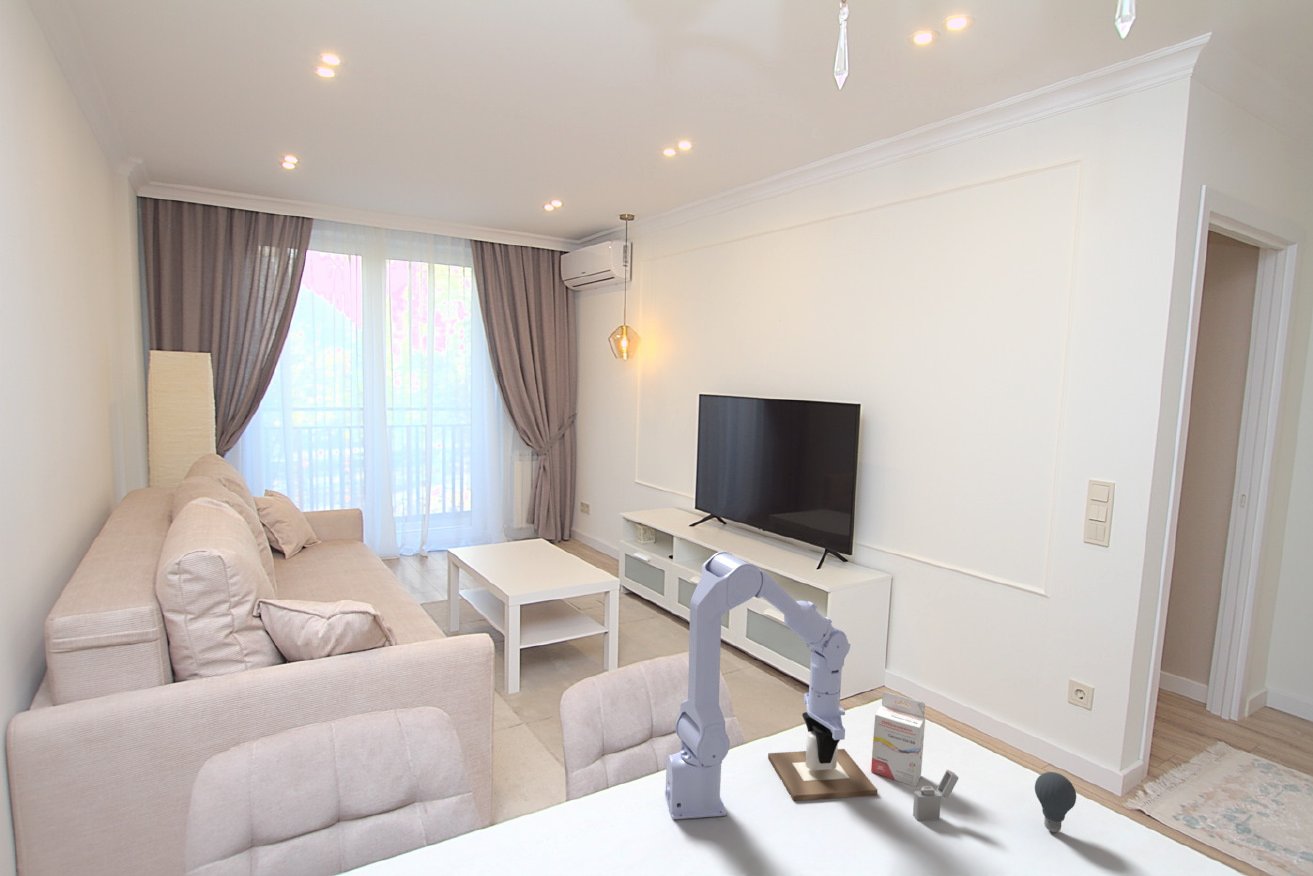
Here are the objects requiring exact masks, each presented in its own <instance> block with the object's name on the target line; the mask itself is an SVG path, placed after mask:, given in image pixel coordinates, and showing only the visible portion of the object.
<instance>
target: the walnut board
mask: <svg viewBox="0 0 1313 876" xmlns="http://www.w3.org/2000/svg"><path fill="white" fill-rule="evenodd" d="M767 758H768V761H769V763H770V764H771V765H772V767H773V768H774V769H773V770H774V771H775V772H776V774H777V776H778V777H779V779H780V781H781V780H782V781H781V782H783V783H782V784H783V786H784V787H786V788H785V789H786V791H787V793H788V794H789V796H790V795H791V796H790V798H791V800H792V801H793V802H797V801H798V800H799V801H811V800H812V799H814V800H826V799H839V798H840V799H841V798H853V797H855V798H857V797H867V796H868V797H869V796H870V797H871V796H878V789H877V788H876V786H875V785H874V784H873V783H872V781H871V780H870V779H869V778H868V776H867V775H866V773H865V772H863V770H862V769H861V768H860V766H859V765H858V764H857V763H856V761H855V760H854V759H853V757H852V756H851V755H850V754H849V753H848V751H846V749H844V748H838V749H837V767H836V768H835V769H827V770H811V769H809V768H807V767H806V765H805V763H806V750H802V751H786V752H768V754H767ZM808 799H809V800H808ZM812 801H813V800H812Z"/></svg>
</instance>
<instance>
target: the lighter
mask: <svg viewBox="0 0 1313 876" xmlns="http://www.w3.org/2000/svg"><path fill="white" fill-rule="evenodd" d="M958 781H959V776H958V775H957V774H956V772H953V771H951V770H950V769H946V771H945V772H944V774H943V776H942V778H941V781H940V782H939V784H938V785H937V788H936V790H935V788H934V787H933V786H931V785H929V786H921V789H920V790H914V793H913V794H914V795H913V808H912V809H913V810H912V816H913V817H914V818H915V819H916V821H918V822H923V821H926V822H927V821H939V820H940V817H941V805H942V804H941V800H942V797H943V798H946V799H949V797H950V796H951V794H952V792H953V790H954V788H955V786H956V784H957V783H958Z"/></svg>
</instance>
